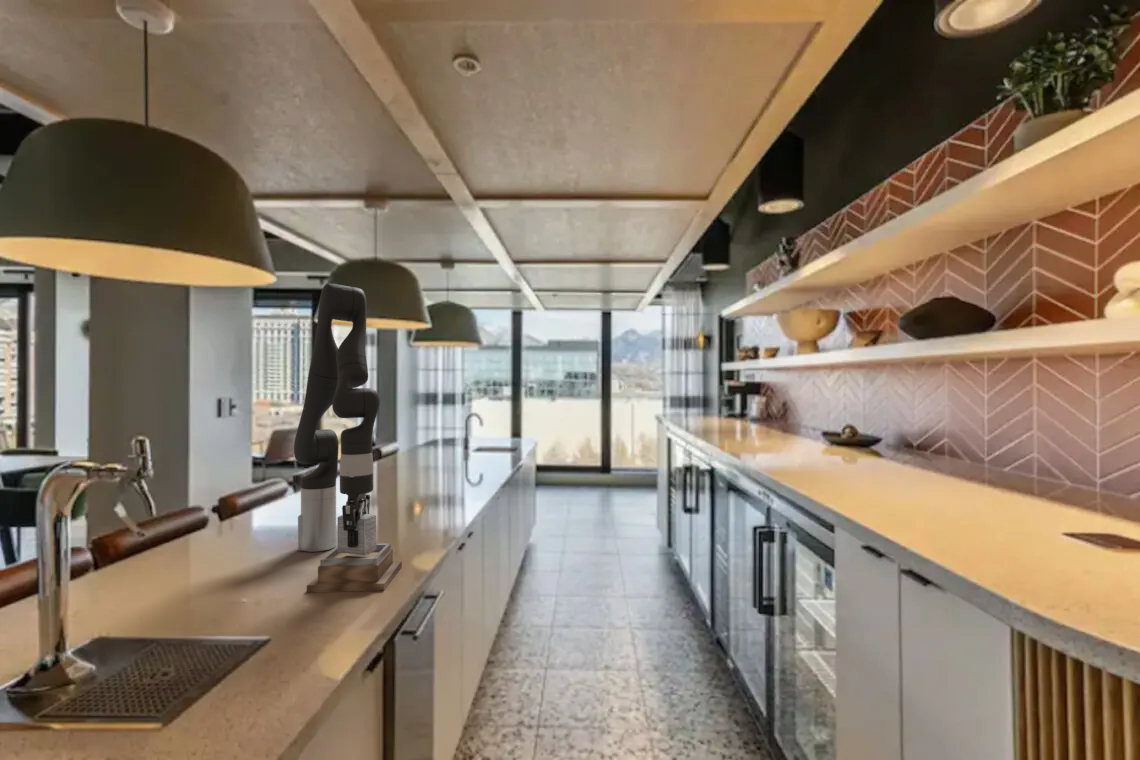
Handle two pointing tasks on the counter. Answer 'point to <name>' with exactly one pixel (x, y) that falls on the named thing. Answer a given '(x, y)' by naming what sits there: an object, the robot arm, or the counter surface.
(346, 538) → the medicine box
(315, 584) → the display stand
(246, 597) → the counter surface
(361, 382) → the robot arm
